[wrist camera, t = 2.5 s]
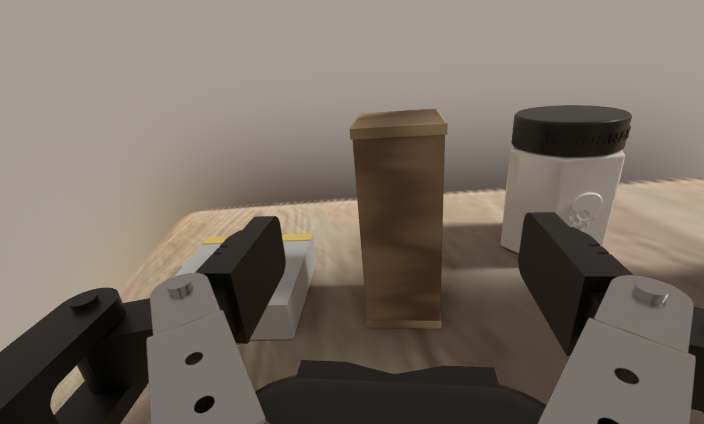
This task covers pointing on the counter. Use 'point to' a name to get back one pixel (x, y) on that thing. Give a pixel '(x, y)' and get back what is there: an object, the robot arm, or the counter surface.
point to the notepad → (289, 292)
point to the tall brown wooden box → (401, 215)
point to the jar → (565, 167)
